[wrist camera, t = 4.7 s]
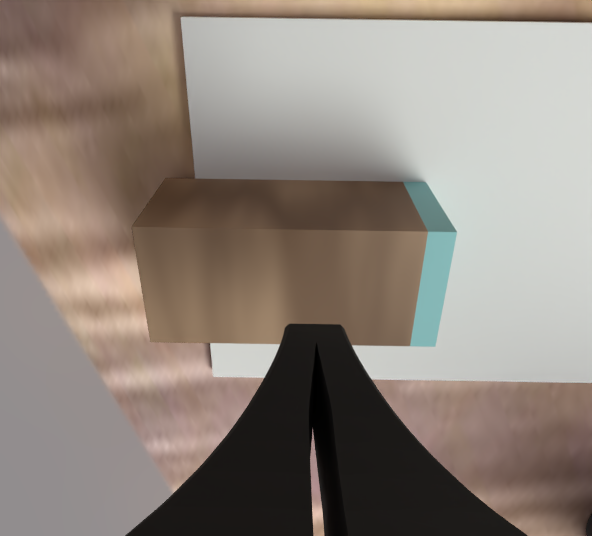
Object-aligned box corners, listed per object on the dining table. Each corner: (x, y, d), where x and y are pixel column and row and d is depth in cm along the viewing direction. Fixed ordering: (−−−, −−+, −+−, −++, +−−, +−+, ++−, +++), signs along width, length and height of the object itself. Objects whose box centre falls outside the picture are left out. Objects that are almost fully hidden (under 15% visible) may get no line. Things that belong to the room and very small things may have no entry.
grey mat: (777, 25, 15) (788, 25, 15) (622, 377, 22) (627, 383, 22) (183, 16, 15) (180, 17, 15) (214, 370, 22) (213, 376, 22)
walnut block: (457, 232, 14) (131, 227, 14) (435, 346, 16) (150, 342, 16) (425, 182, 17) (165, 178, 17) (411, 281, 19) (177, 277, 19)
